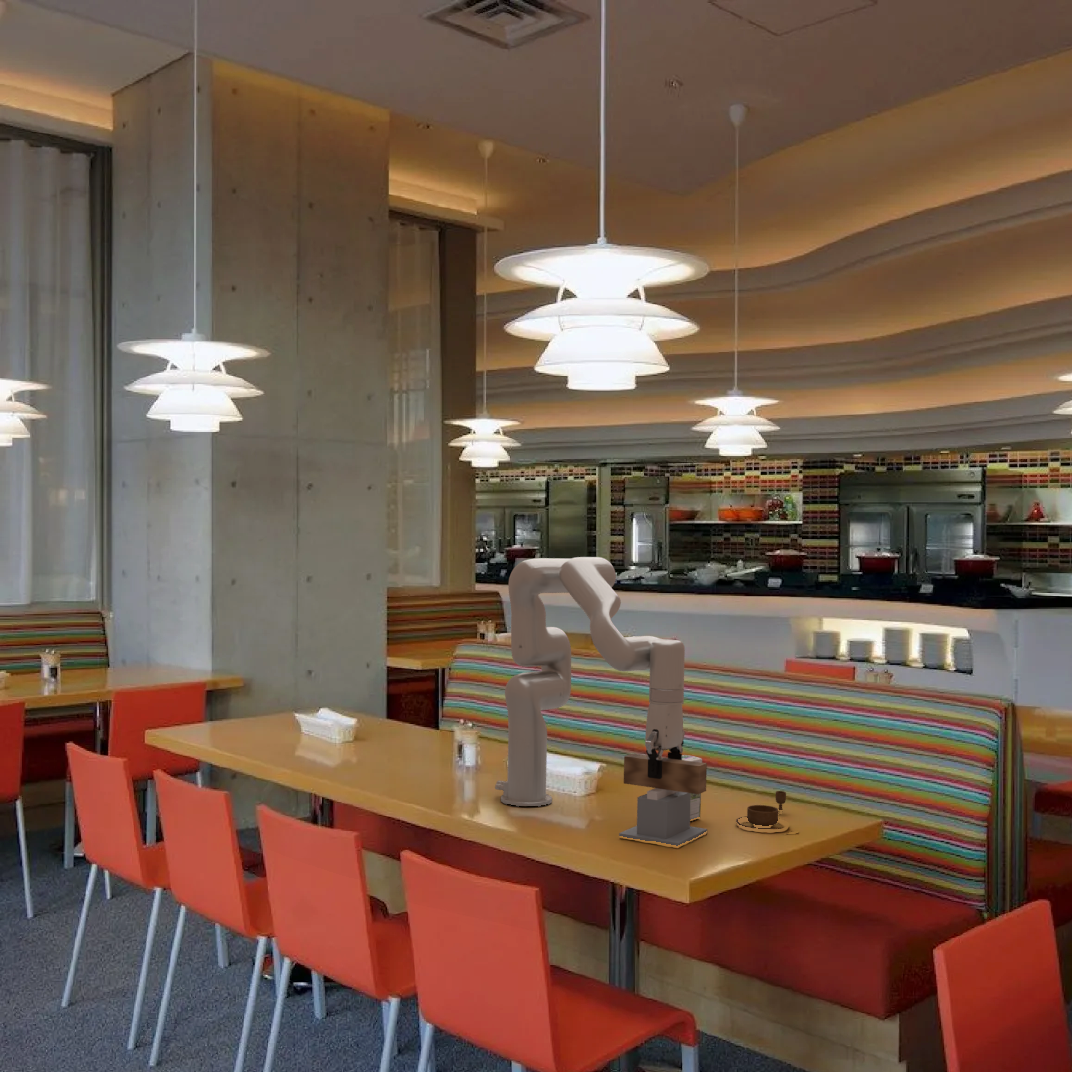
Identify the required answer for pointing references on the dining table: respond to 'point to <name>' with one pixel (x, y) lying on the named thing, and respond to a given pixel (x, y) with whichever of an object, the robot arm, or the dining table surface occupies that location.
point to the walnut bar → (666, 774)
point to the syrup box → (694, 798)
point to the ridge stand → (663, 818)
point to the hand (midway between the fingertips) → (664, 774)
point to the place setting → (765, 812)
